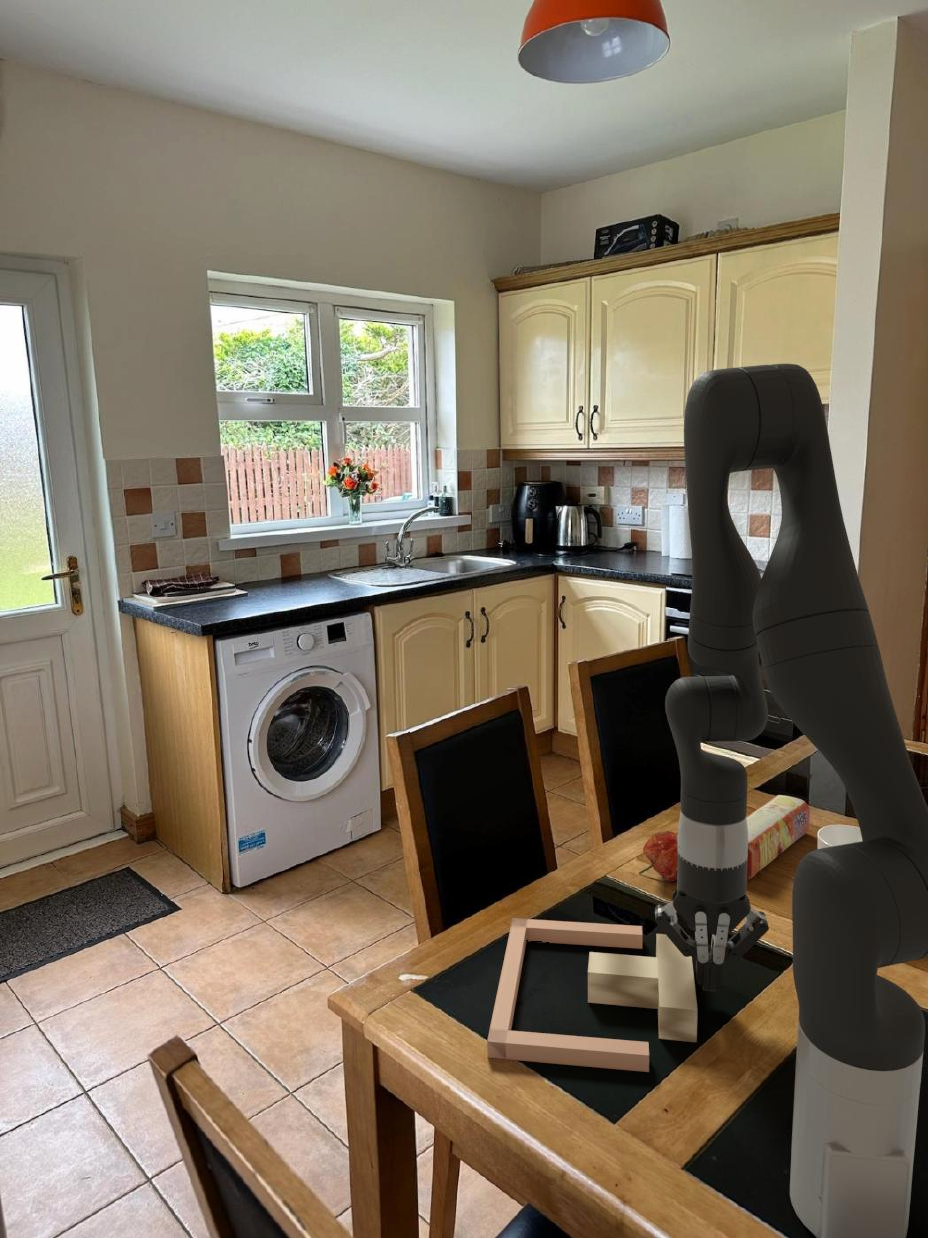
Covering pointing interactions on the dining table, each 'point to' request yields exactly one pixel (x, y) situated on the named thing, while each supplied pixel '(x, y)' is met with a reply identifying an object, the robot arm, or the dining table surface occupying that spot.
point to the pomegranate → (663, 854)
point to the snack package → (774, 830)
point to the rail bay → (554, 1045)
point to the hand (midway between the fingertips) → (708, 986)
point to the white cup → (837, 835)
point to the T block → (649, 986)
